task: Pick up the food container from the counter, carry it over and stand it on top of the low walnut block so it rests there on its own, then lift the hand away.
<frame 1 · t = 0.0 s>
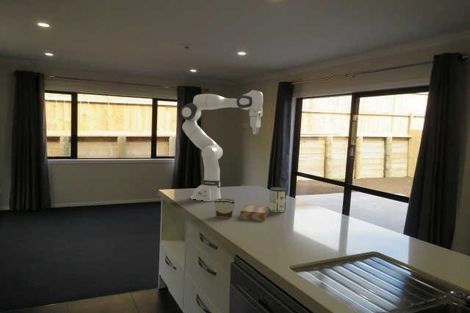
hand: (255, 134, 239), 48 cm above the worktop, tool pointing down, fingers open, 8 cm apart
walnut block: (254, 217, 203), on the worktop
coffee can: (277, 210, 221), on the worktop
food container: (224, 216, 202), on the worktop
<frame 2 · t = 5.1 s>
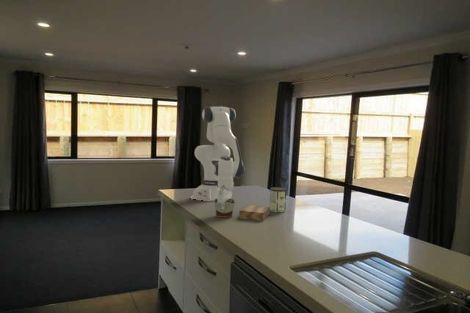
hand: (224, 207, 201), 5 cm above the worktop, tool pointing down, fingers closed on food container, 5 cm apart
food container: (224, 216, 202), on the worktop, touching gripper
everything else where it was.
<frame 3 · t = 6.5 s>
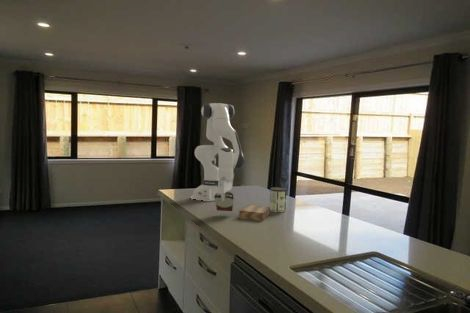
hand: (224, 199, 202), 10 cm above the worktop, tool pointing down, fingers closed on food container, 5 cm apart
food container: (225, 208, 205), point 4 cm above the worktop, touching gripper
everything else where it was.
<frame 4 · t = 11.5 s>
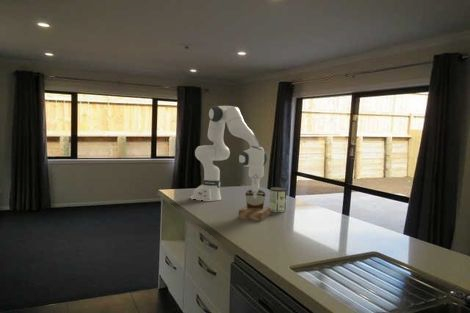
hand: (255, 197, 202), 11 cm above the worktop, tool pointing down, fingers closed on food container, 5 cm apart
food container: (254, 206, 205), point 5 cm above the worktop, touching gripper
everything else where it was.
when the fingers open (11 cm above the worktop, at t = 12.1 s): food container moves 1 cm, resting on walnut block.
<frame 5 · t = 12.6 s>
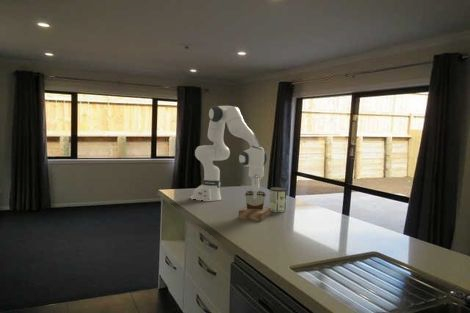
hand: (255, 197, 202), 12 cm above the worktop, tool pointing down, fingers open, 8 cm apart
walnut block: (254, 217, 203), on the worktop, touching food container
food container: (254, 208, 204), point 5 cm above the worktop, touching gripper, walnut block
everything else where it was.
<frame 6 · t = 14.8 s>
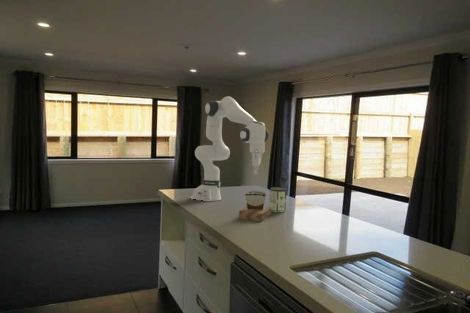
hand: (256, 173, 201), 26 cm above the worktop, tool pointing down, fingers open, 8 cm apart
food container: (254, 208, 203), point 4 cm above the worktop, touching walnut block
everything else where it was.
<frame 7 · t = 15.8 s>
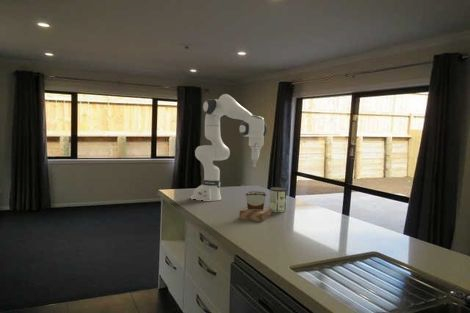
hand: (255, 166, 206), 29 cm above the worktop, tool pointing down, fingers open, 8 cm apart
nothing on the worktop moved.
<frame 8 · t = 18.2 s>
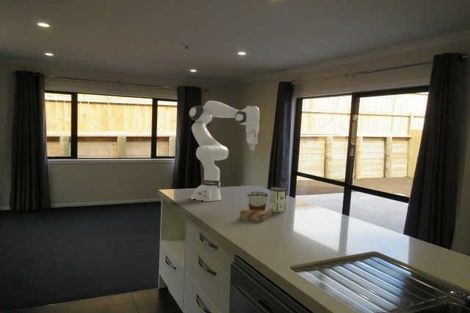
hand: (251, 150, 232), 37 cm above the worktop, tool pointing down, fingers open, 8 cm apart
food container: (256, 209, 202), point 4 cm above the worktop, touching walnut block
at the end: food container inside the target area on the walnut block (1.2 cm from its centre), point 4.8 cm above the walnut block's base; food container tilted 1°; the gripper is holding nothing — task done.
